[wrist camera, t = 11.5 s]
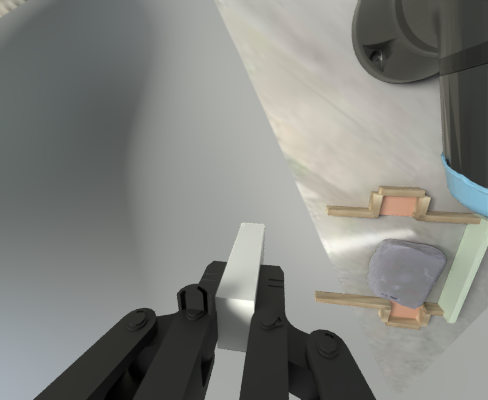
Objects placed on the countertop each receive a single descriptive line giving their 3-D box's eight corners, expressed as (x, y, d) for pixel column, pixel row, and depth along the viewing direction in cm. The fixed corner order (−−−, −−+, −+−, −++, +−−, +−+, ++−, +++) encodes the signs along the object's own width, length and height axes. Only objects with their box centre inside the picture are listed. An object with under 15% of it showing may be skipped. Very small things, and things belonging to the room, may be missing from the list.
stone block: (390, 246, 36) (456, 259, 35) (378, 232, 41) (437, 243, 40) (365, 302, 40) (424, 315, 40) (357, 284, 45) (409, 295, 44)
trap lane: (329, 184, 39) (334, 190, 36) (487, 190, 36) (508, 197, 32) (312, 309, 49) (314, 323, 45) (435, 323, 45) (447, 339, 42)
